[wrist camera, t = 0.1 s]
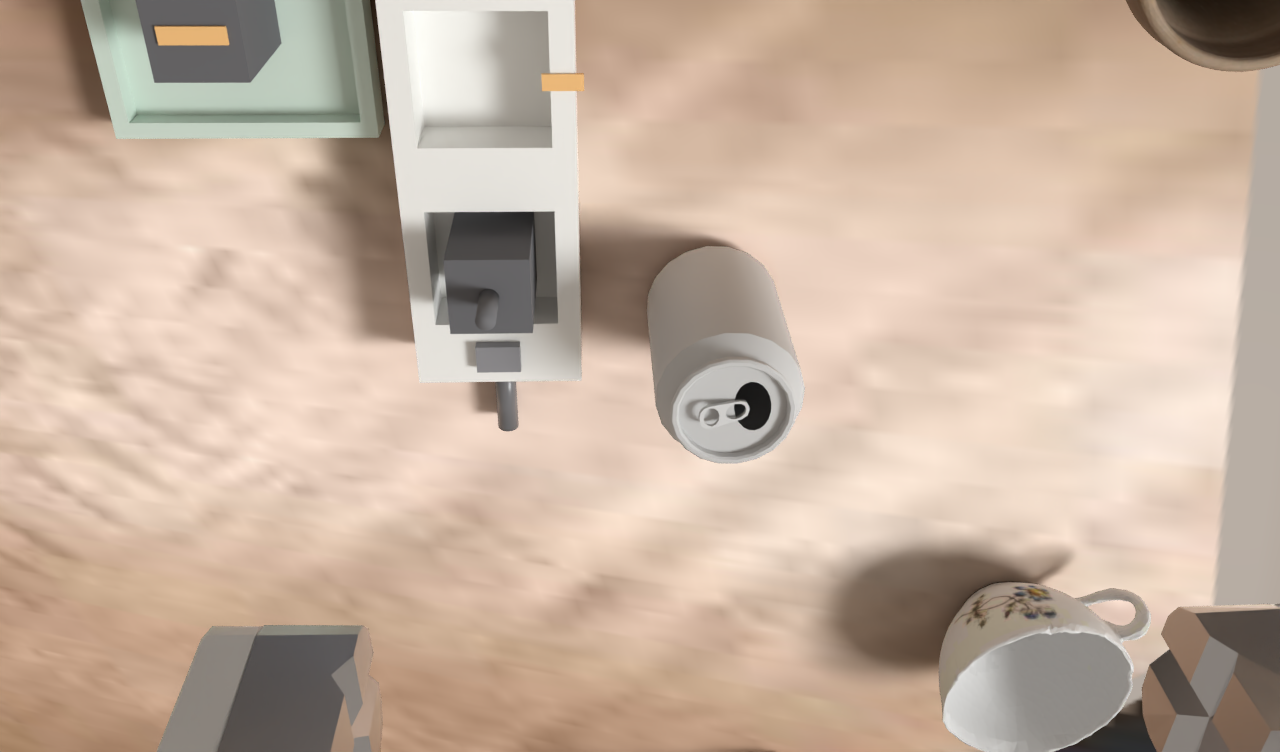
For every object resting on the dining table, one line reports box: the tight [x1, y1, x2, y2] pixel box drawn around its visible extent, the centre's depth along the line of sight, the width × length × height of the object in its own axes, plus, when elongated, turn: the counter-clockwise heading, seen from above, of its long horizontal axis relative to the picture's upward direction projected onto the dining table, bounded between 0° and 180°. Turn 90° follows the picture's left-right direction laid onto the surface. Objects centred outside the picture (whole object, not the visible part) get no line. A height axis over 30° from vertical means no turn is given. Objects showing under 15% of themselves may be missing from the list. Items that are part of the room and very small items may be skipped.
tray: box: [81, 0, 385, 139], centre depth 53 cm, size 13×13×2 cm
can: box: [647, 246, 805, 463], centre depth 59 cm, size 8×8×12 cm
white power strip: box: [375, 0, 584, 431], centre depth 58 cm, size 29×9×5 cm, turn 179°
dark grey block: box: [135, 0, 282, 83], centre depth 50 cm, size 4×4×6 cm
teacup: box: [939, 582, 1151, 752], centre depth 75 cm, size 15×12×8 cm
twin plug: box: [443, 212, 537, 334], centre depth 57 cm, size 4×4×8 cm
